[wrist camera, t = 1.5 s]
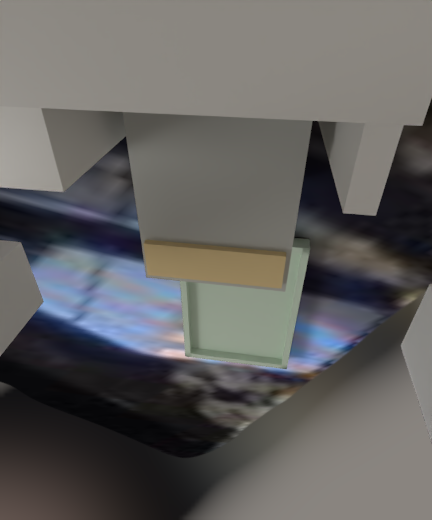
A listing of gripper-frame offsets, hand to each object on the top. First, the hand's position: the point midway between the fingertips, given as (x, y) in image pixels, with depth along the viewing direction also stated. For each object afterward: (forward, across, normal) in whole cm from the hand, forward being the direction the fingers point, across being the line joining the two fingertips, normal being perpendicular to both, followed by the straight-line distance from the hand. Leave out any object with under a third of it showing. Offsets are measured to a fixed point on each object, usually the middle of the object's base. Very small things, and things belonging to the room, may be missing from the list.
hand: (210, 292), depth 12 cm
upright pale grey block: (+14, 0, +3) cm, 14 cm away
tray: (+14, 0, -13) cm, 19 cm away
